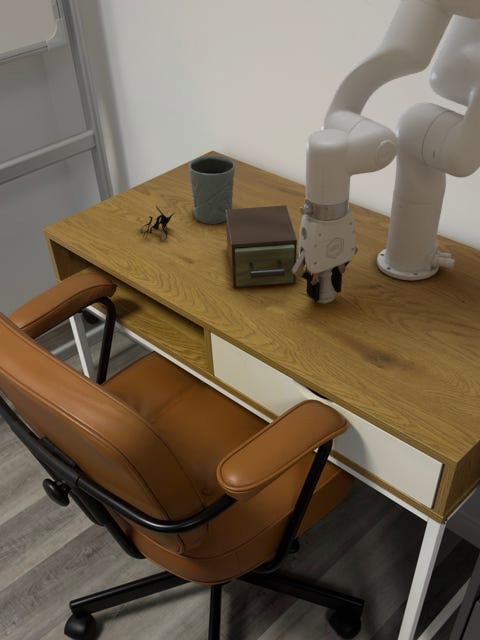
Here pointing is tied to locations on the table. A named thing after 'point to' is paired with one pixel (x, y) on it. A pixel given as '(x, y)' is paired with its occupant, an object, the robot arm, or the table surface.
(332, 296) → the rook chess piece
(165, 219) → the creature
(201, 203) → the grey green cup
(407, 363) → the table surface
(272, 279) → the drawer
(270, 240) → the cabinet
